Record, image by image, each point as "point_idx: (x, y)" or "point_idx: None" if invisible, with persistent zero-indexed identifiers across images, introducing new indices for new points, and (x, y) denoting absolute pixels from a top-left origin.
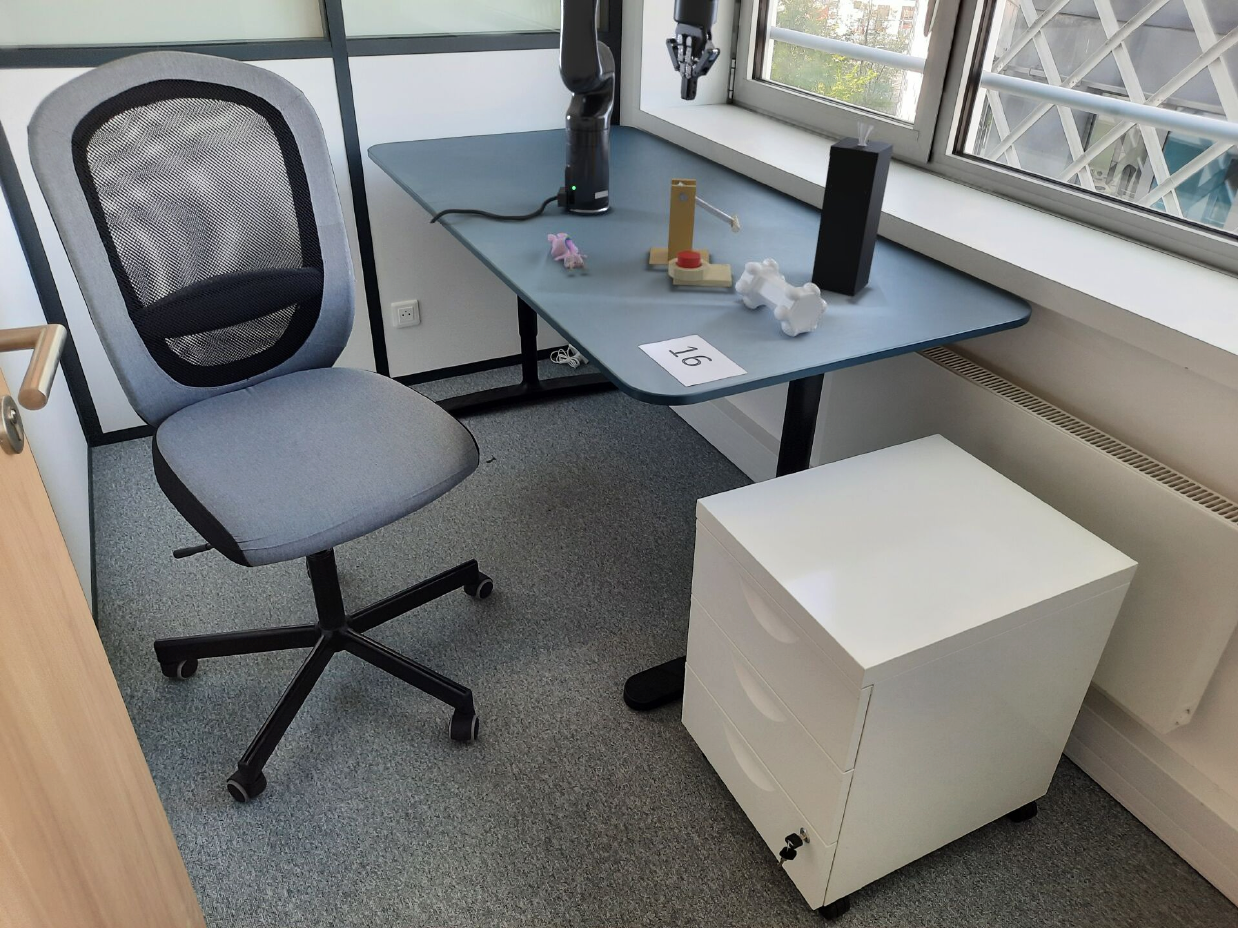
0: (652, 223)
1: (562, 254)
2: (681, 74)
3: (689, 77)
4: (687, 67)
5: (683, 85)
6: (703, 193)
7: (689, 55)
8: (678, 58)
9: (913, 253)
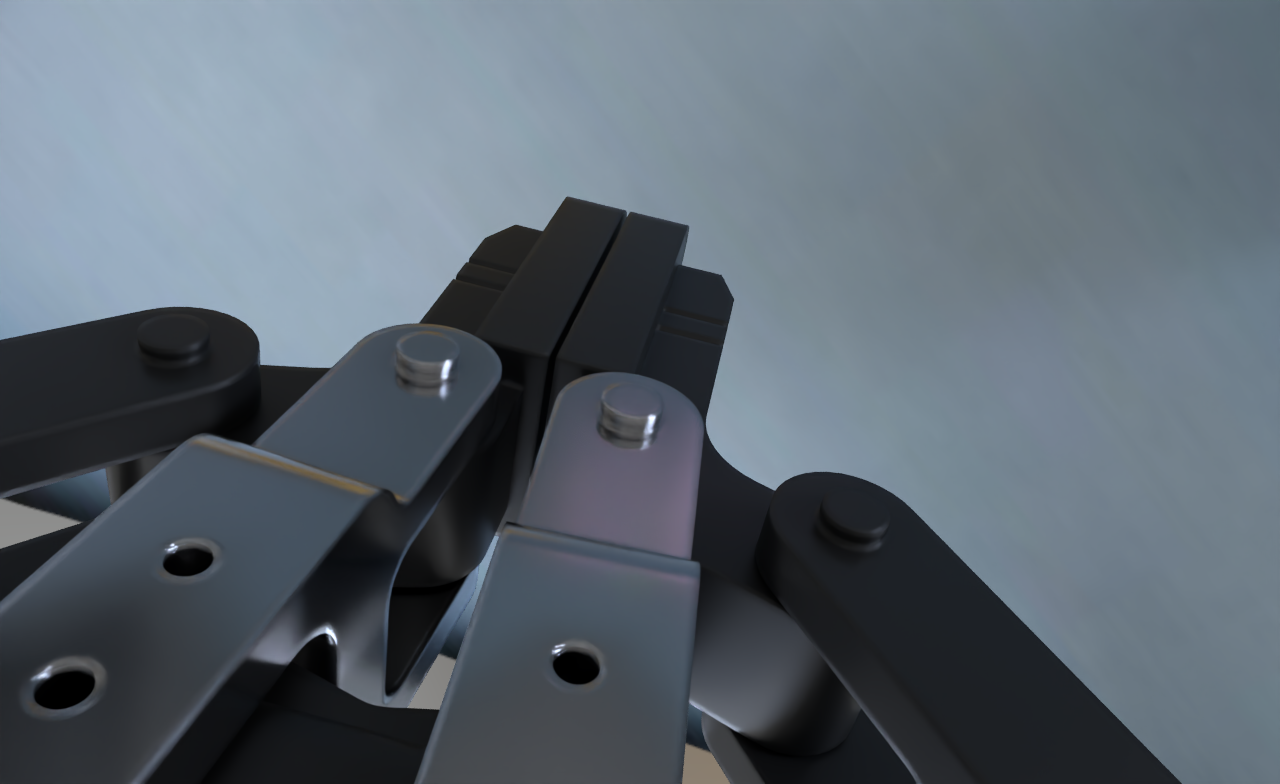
0: (1079, 108)
1: None
2: (630, 385)
3: (389, 331)
4: (413, 463)
5: (613, 300)
6: (1115, 645)
7: (98, 588)
8: (695, 610)
9: (70, 513)
